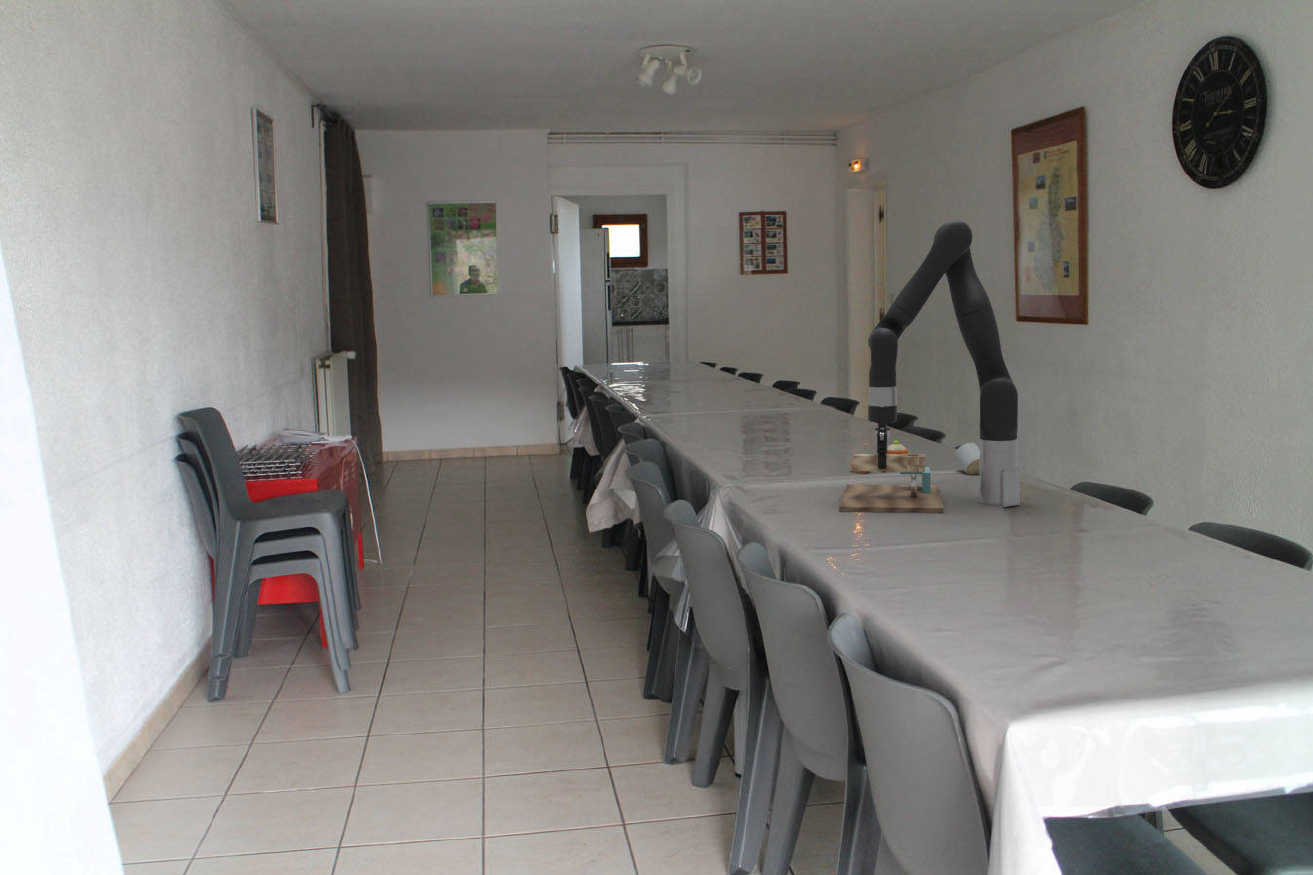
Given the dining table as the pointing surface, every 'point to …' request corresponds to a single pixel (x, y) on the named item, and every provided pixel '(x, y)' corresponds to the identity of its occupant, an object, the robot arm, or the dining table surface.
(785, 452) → the dining table surface
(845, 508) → the walnut board
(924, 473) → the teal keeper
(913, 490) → the rod
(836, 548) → the dining table surface
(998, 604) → the dining table surface
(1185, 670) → the dining table surface
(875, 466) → the maple link
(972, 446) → the ceramic mug
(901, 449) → the toy tea set
